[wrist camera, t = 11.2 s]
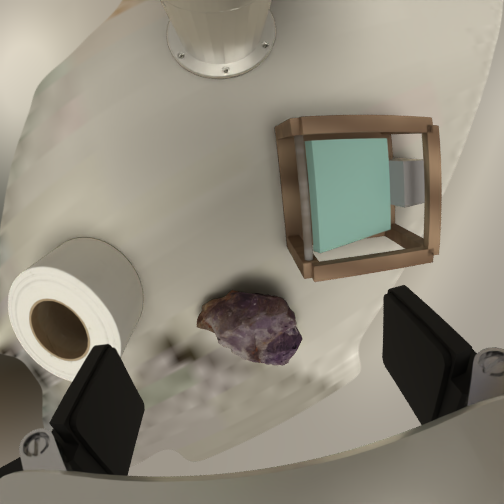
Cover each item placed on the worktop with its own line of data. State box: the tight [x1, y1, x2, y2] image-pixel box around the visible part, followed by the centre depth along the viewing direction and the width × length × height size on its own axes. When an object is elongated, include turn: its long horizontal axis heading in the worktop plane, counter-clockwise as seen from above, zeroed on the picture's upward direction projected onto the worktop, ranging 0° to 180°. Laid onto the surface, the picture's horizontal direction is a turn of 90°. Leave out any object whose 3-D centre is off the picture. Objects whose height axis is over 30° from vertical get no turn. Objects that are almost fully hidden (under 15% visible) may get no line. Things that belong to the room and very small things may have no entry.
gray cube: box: [389, 158, 425, 207], centre depth 33 cm, size 5×5×5 cm
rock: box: [197, 290, 302, 366], centre depth 37 cm, size 12×9×10 cm
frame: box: [275, 115, 441, 282], centre depth 31 cm, size 14×14×11 cm
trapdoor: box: [305, 138, 391, 253], centre depth 30 cm, size 10×11×1 cm
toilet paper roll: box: [8, 238, 143, 381], centre depth 34 cm, size 16×15×11 cm
